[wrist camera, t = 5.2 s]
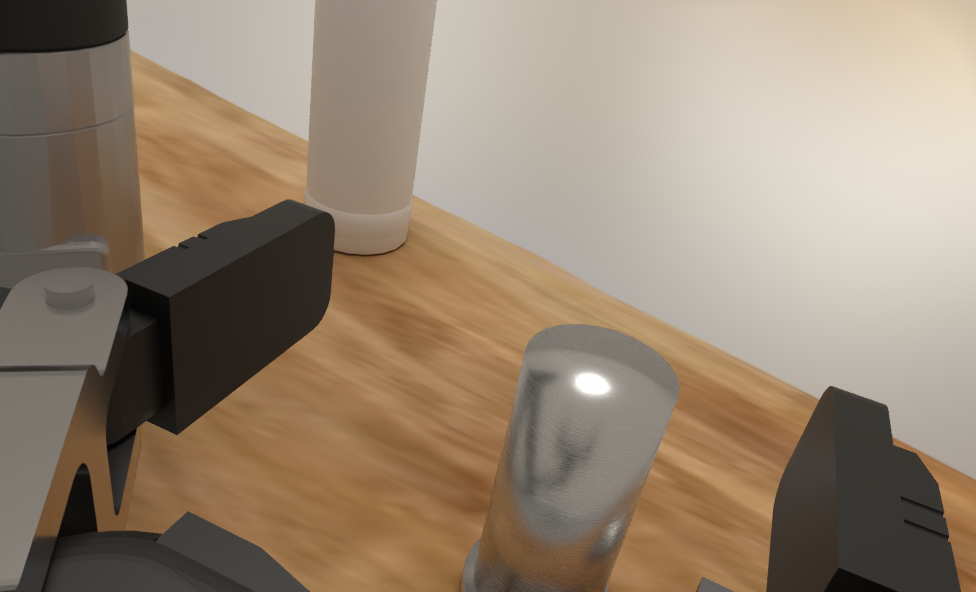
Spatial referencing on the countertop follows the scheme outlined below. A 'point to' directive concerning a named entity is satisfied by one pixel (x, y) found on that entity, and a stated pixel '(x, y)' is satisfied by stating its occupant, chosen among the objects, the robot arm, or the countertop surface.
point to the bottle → (367, 117)
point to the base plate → (710, 586)
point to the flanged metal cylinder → (572, 461)
